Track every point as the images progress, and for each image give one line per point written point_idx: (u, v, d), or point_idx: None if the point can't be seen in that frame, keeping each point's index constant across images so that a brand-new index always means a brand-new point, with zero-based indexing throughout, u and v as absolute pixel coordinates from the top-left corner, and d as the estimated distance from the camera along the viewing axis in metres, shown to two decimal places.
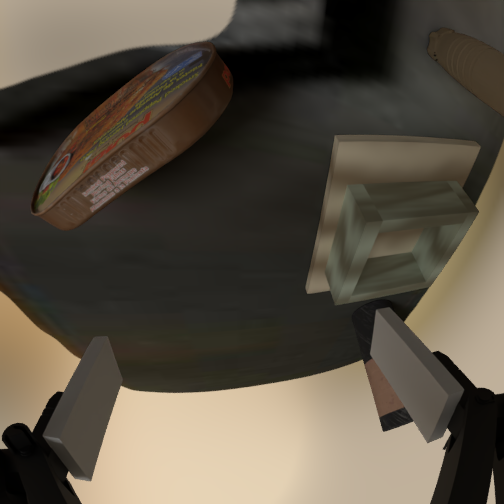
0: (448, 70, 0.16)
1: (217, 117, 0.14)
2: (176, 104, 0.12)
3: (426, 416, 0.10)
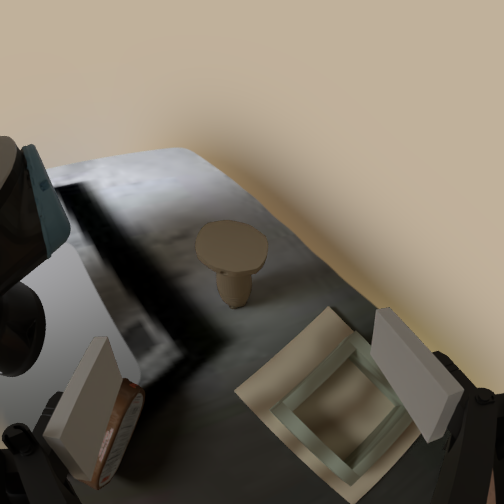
0: (233, 304, 0.38)
1: (131, 398, 0.29)
2: None
3: (426, 416, 0.10)
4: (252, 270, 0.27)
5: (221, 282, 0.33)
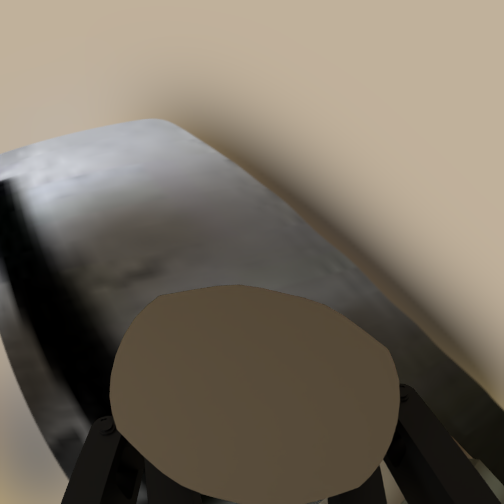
0: None
1: None
2: None
3: None
4: (342, 488, 0.05)
5: None
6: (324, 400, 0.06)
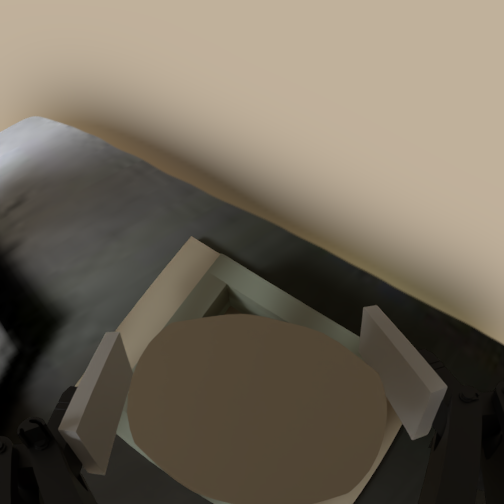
0: None
1: None
2: None
3: (410, 413, 0.10)
4: (333, 493, 0.06)
5: None
6: (319, 418, 0.07)
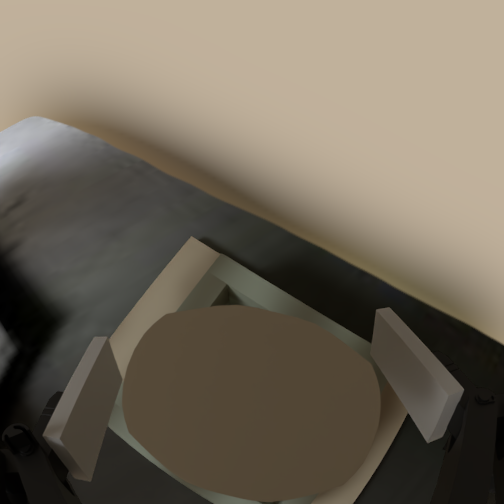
0: None
1: None
2: None
3: (426, 416, 0.10)
4: (327, 486, 0.06)
5: None
6: (312, 408, 0.07)
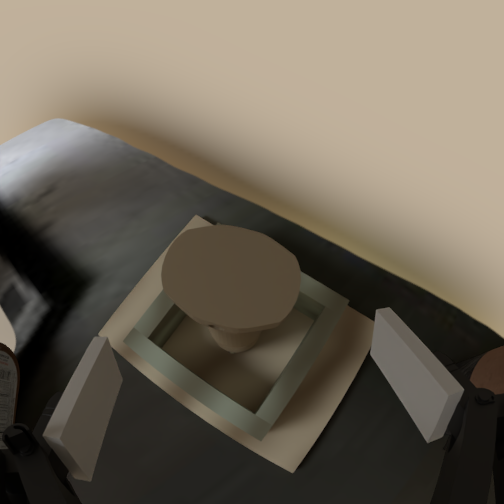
0: (233, 351, 0.24)
1: None
2: None
3: (426, 416, 0.10)
4: (272, 325, 0.14)
5: (214, 328, 0.19)
6: (261, 275, 0.15)
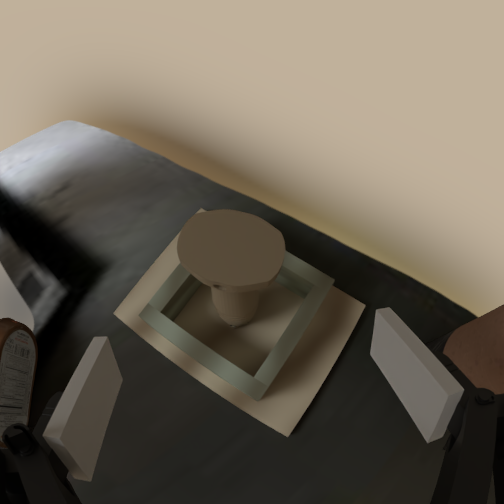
0: (234, 324, 0.29)
1: (9, 330, 0.25)
2: None
3: (426, 416, 0.10)
4: (262, 284, 0.18)
5: (217, 297, 0.24)
6: (254, 246, 0.19)
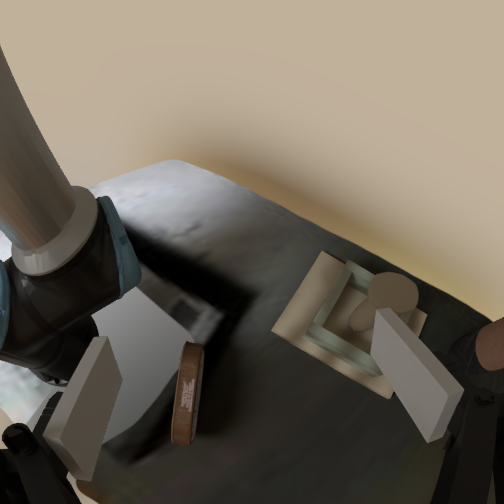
0: (362, 330, 0.45)
1: (200, 351, 0.40)
2: (183, 354, 0.39)
3: (426, 416, 0.10)
4: (410, 310, 0.34)
5: (370, 316, 0.39)
6: (405, 292, 0.35)
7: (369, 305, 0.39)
